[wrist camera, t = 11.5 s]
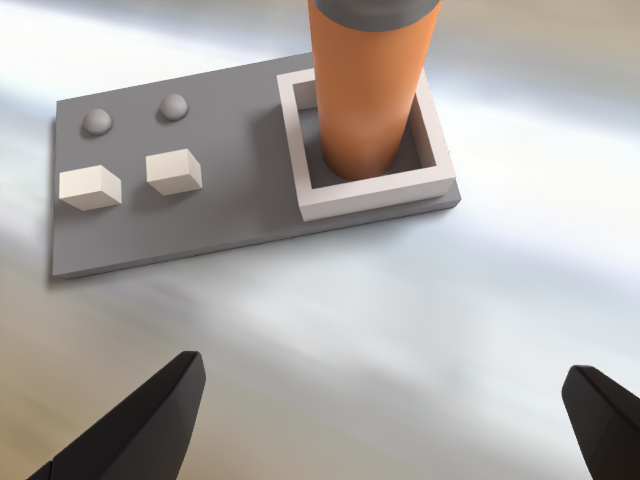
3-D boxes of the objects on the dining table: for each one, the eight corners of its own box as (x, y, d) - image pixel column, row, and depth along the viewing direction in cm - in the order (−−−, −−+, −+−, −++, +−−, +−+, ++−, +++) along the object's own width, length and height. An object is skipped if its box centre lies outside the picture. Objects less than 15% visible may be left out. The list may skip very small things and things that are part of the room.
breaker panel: (67, 279, 23) (16, 266, 20) (69, 111, 27) (26, 75, 23) (455, 206, 23) (475, 180, 19) (408, 46, 26) (418, -1, 23)
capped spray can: (349, 196, 22) (362, -2, 10) (306, 138, 23) (269, -103, 11) (413, 155, 23) (502, -82, 10) (368, 101, 24) (399, -170, 11)
